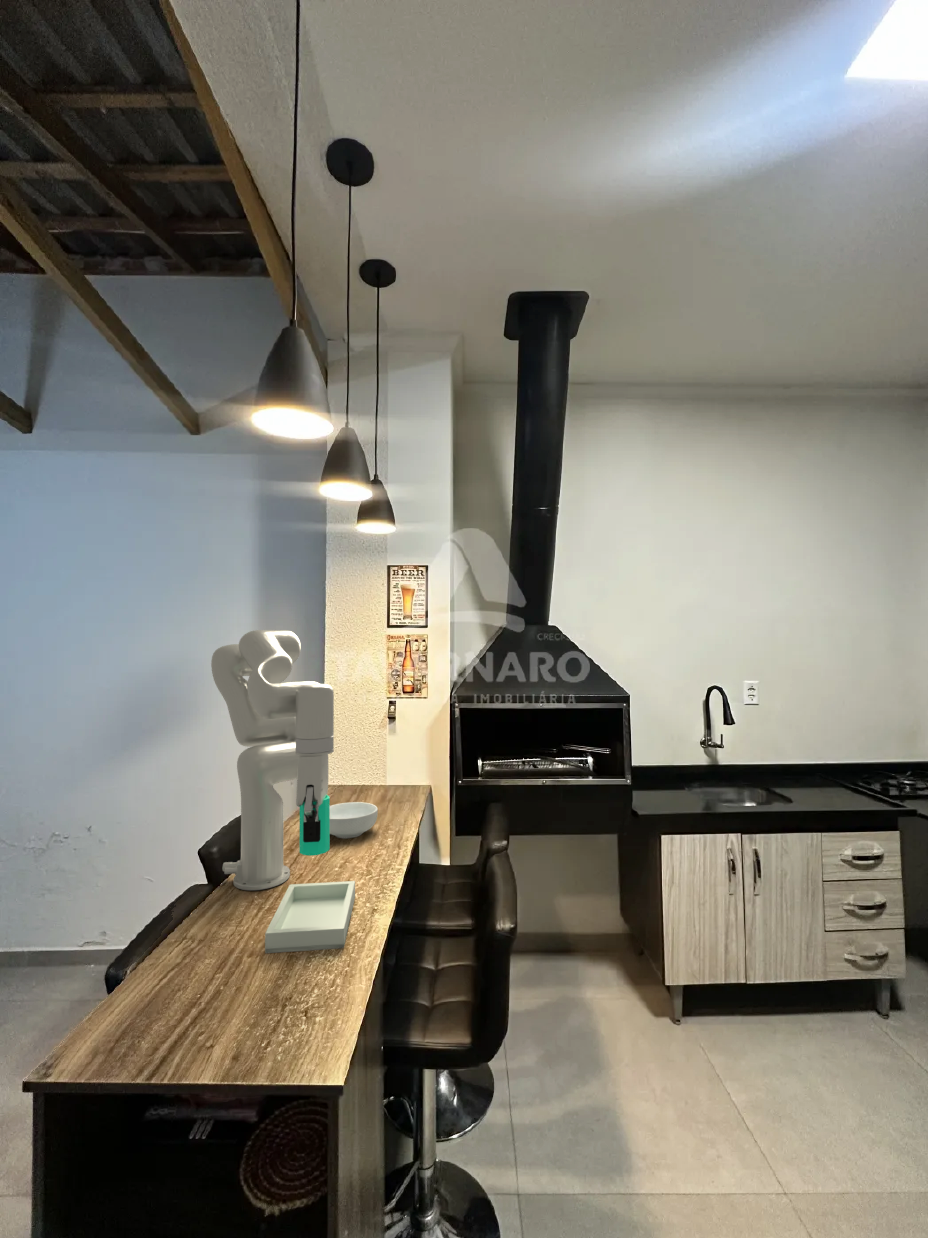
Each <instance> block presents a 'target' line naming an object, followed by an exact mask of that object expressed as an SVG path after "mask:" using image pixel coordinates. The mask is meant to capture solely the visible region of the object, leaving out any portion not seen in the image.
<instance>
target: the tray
mask: <svg viewBox="0 0 928 1238" xmlns="http://www.w3.org/2000/svg"><path fill="white" fill-rule="evenodd" d="M355 900H356V880H347V881H331V882H312V883H311V882H309V883H293V884H289V885H288V888H287V890H286V891H285V893H284V895H283V897H282V899H281V901H280V903H279V905H278V907H277V909H276V911H275V913H274V915H273V917H272V919H271V921H270V923H269V925H268V927H267V929H266V931H265V933H264V934H265V936H264V953H265V954H271V953H272V954H274V953H291V952H304V951H306V952H307V951H319V950H321V951H322V950H333V949H334V950H335V949H344V948H345V944H346V939H347V937H348V931H349V926H350V922H351V917H352V913H353V908H354V904H355Z"/></svg>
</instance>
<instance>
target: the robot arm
mask: <svg viewBox="0 0 928 1238" xmlns="http://www.w3.org/2000/svg"><path fill="white" fill-rule="evenodd" d="M301 647H302V646H301V641H300V639H299V637H298V636H297V635H296V634H295V633H294V632H293V631H291V630H287V629H282V630H281V629H277V630H276V629H255V630H250V631H248V632H246V633H245V634H243V636H241V638H240V639H239V642H238V643H235V644H227V645H223V646H220V647H218V648H217V649H216V650H215V651H214V652H213V653H212V656H211V663H210V664H211V675H212V677H213V681H214V683H215V685H216V688H217V690H218V691H219V694H221V697H223V700H224V701H225V703H226V706H227V710H228V714H229V717H230V723H231V724H232V725H231V726H232V729H233V733H234V736H235V739H236V741H237V742H238V743H239V745H241V746H242V747H247V748H245V749H244V750H243V751H241V752H240V754H239V755H238V757H237V761H236V769H237V776H238V782H239V789H240V859H239V860H237V861H236V862H233V861H228V862H227V861H225V862H223V864H222V872H224V875H230V874H231V875H232V874H234V875H235V876H234V877H233V883H232V884H233V886H234V887H235V888H236V889H240V890H242V891H243V890H244V891H262V890H266V889H270V888H274V887H276V886H279V885H281V884H283V883H284V882H286V881H287V880H288V879H290V876H291V870H290V867H289V866H287V865H284V801H283V798H282V796H281V794H279V793H278V791H277V790H276V789H275V787H274V785H276V784H280V783H285V782H290V781H296V780H297V781H296V797H295V798H296V799H295V804H296V807H298V808H300V806H301V805H302V804H303V803H304V802H303V801H305V804H304V821H303V841H304V842H319V841H320V820H319V806H320V805H321V804H322V803H323V800H324V799H325V798H326V795H328V791H329V755H330V754H333V753H334V749H335V748H334V747H335V746H334V735H335V734H334V733H335V731H334V730H335V729H334V727H335V726H334V721H335V717H334V715H335V714H334V707H335V706H334V704H335V701H334V700H335V699H334V698H335V697H334V696H335V695H334V694H335V693H334V689H333V687H332V686H331V685H330V684H326V683H319V682H317V681H313V680H311V681H310V680H306V681H286V679H288V677H289V675H291V672H292V669H293V664H294V663H296V662H297V660H298V659H299V657H300V654H301V650H302V649H301ZM244 677H248V680H247V679H245V678H244ZM284 681H285V682H284ZM313 802H317V803H316V804H317V805H313ZM313 808H316V812H315V810H313ZM315 813H316V814H315Z"/></svg>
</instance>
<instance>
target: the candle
mask: <svg viewBox="0 0 928 1238" xmlns="http://www.w3.org/2000/svg"><path fill="white" fill-rule="evenodd" d="M330 799H331V798H330V796H329V795H328V794H327V795H326V798H325V799H324V800H323V803H322V804H321V805H320V806H319V820H320V841H319V842H304V841H303V821H304V804H305V801H303V802H304V803H303V804H302V805H301V806H300V807H299V842H298V843H299V848H298V849H299V851H298V852H299V854H301V855H302V856H309V857H310V856H319V855H322V854H327V852H328V851H330V850H331V849H330V846H331V845H330V843H331V842H330V840H331V839H330V836H331V834H330V806H331V805H330ZM316 803H317V802H313V805H317V804H316ZM313 810H315V812H316V808H313ZM315 814H316V813H315Z"/></svg>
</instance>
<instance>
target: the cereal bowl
mask: <svg viewBox="0 0 928 1238" xmlns="http://www.w3.org/2000/svg"><path fill="white" fill-rule="evenodd" d="M378 811H379V809H378V807H377V806H376V805H375V804H373V803H369V802H363V801H351V802H341V803H336V804H332V805H330V835H331V836H332V835H333V836H335V837H336V838H338V839H353V838H357V837H360V836H361V835H362V834H363V833H365V832H367V831H369V830H371V828H372V827H373V826H374V825H375V824H376V822H377V820H378V819H377V818H378V815H379V814H378Z"/></svg>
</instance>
